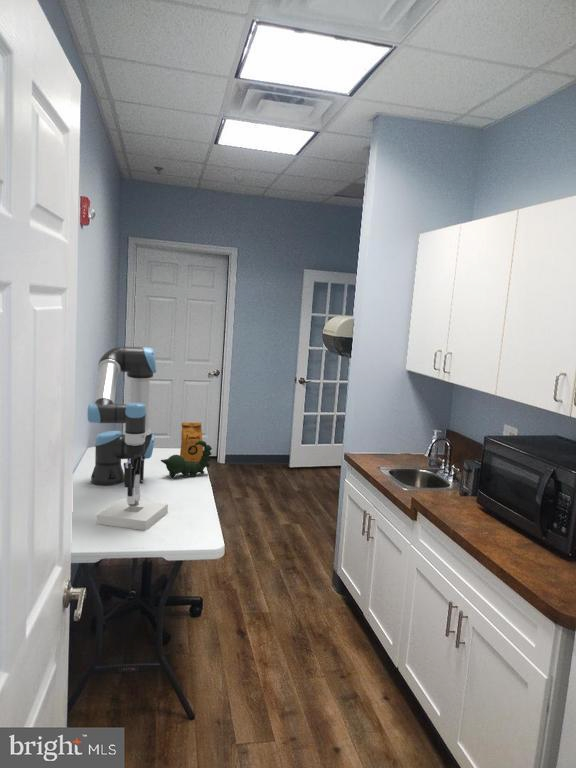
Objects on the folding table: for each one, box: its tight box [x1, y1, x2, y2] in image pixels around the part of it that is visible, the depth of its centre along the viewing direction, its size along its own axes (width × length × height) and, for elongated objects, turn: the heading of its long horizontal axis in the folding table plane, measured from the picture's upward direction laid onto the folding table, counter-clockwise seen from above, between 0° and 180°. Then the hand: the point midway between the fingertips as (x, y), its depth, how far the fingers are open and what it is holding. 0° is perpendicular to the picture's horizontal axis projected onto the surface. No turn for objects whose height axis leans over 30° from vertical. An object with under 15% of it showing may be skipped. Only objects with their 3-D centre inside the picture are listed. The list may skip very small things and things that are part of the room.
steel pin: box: [128, 473, 140, 506], centre depth 212 cm, size 4×4×12 cm
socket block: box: [95, 497, 169, 531], centre depth 213 cm, size 20×20×4 cm
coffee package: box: [179, 421, 204, 463], centre depth 299 cm, size 10×12×22 cm
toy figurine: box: [160, 440, 213, 478], centre depth 271 cm, size 9×19×25 cm
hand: (133, 501), depth 212 cm, fingers closed on steel pin, 4 cm apart
